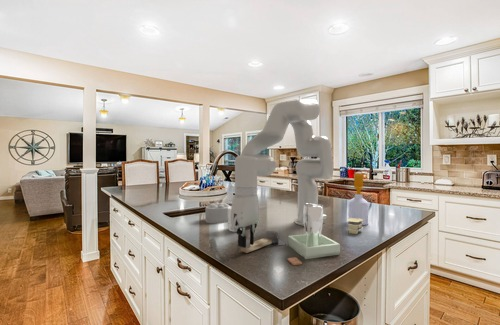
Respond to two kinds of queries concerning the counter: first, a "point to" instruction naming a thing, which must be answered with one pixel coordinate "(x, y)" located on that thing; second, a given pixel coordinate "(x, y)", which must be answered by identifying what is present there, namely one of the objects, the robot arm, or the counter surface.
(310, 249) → the tray
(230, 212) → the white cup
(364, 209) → the soap bottle
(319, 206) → the beer glass
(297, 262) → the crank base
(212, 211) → the grey bumpy block
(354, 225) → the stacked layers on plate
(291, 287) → the counter surface
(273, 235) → the crank lever
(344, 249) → the counter surface
